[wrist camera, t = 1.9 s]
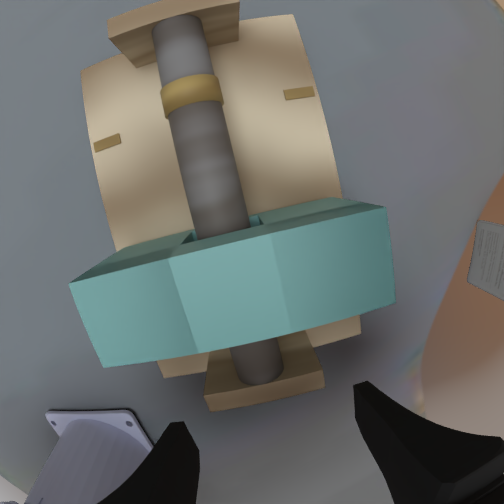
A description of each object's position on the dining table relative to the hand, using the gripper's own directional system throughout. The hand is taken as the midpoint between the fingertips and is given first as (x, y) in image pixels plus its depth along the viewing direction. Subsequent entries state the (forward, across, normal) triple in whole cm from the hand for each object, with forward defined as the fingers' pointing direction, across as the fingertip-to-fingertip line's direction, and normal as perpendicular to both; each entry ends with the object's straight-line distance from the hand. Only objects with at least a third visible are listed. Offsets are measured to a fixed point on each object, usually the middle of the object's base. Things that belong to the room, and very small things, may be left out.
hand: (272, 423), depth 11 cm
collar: (+4, 0, -6) cm, 7 cm away
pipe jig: (+5, 0, -9) cm, 10 cm away
